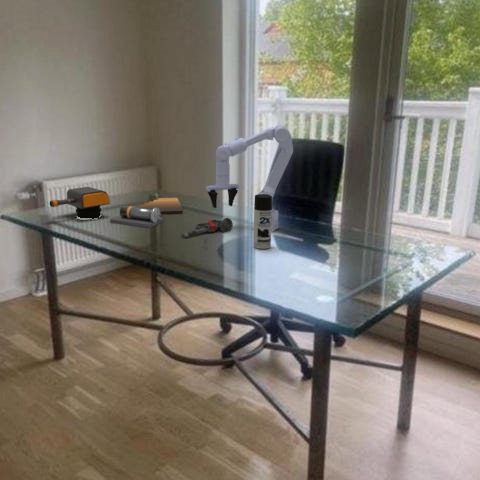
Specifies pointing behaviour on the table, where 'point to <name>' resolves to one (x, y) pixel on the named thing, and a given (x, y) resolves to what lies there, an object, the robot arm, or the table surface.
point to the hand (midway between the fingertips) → (222, 206)
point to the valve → (212, 227)
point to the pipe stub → (138, 217)
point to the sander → (84, 201)
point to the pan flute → (165, 205)
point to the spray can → (262, 221)
